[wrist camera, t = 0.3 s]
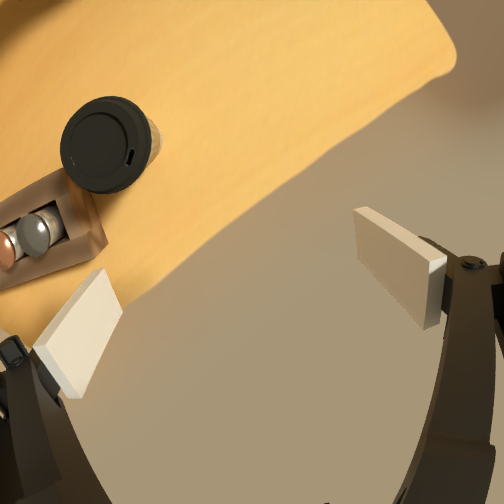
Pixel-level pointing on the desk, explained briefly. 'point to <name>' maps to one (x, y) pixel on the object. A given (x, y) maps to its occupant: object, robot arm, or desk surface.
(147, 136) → the coffee cup
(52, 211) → the ball
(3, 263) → the terracotta plunger
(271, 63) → the desk surface
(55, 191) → the wooden jar holder
